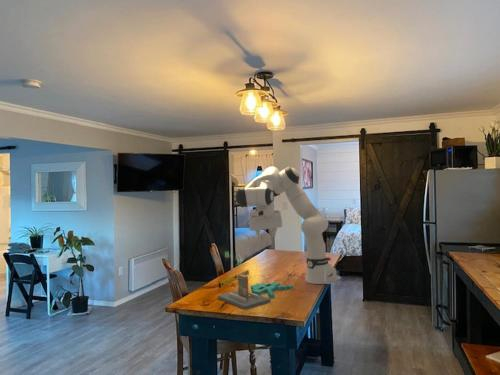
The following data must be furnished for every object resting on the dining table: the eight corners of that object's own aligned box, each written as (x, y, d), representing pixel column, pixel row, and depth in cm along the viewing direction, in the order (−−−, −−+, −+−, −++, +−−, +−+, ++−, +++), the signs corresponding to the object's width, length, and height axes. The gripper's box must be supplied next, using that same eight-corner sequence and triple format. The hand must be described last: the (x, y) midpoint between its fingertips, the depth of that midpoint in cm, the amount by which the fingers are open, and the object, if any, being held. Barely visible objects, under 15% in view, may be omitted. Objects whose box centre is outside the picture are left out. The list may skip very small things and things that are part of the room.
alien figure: (293, 289, 202) (264, 284, 215) (293, 285, 202) (264, 280, 215) (272, 299, 187) (243, 293, 199) (272, 294, 187) (242, 289, 199)
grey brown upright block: (244, 294, 189) (243, 274, 189) (250, 297, 185) (249, 275, 185) (236, 296, 186) (235, 275, 186) (242, 299, 182) (241, 277, 182)
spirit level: (220, 288, 210) (220, 282, 210) (218, 287, 211) (218, 282, 211) (248, 274, 240) (248, 270, 240) (247, 274, 240) (246, 269, 240)
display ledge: (242, 291, 200) (242, 286, 200) (270, 301, 181) (270, 295, 181) (217, 298, 190) (217, 292, 190) (245, 309, 171) (244, 303, 171)
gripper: (276, 209, 198) (277, 234, 198) (246, 212, 186) (247, 239, 186) (284, 210, 193) (285, 235, 193) (254, 213, 181) (255, 240, 181)
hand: (266, 237), depth 189 cm, fingers open, 8 cm apart
